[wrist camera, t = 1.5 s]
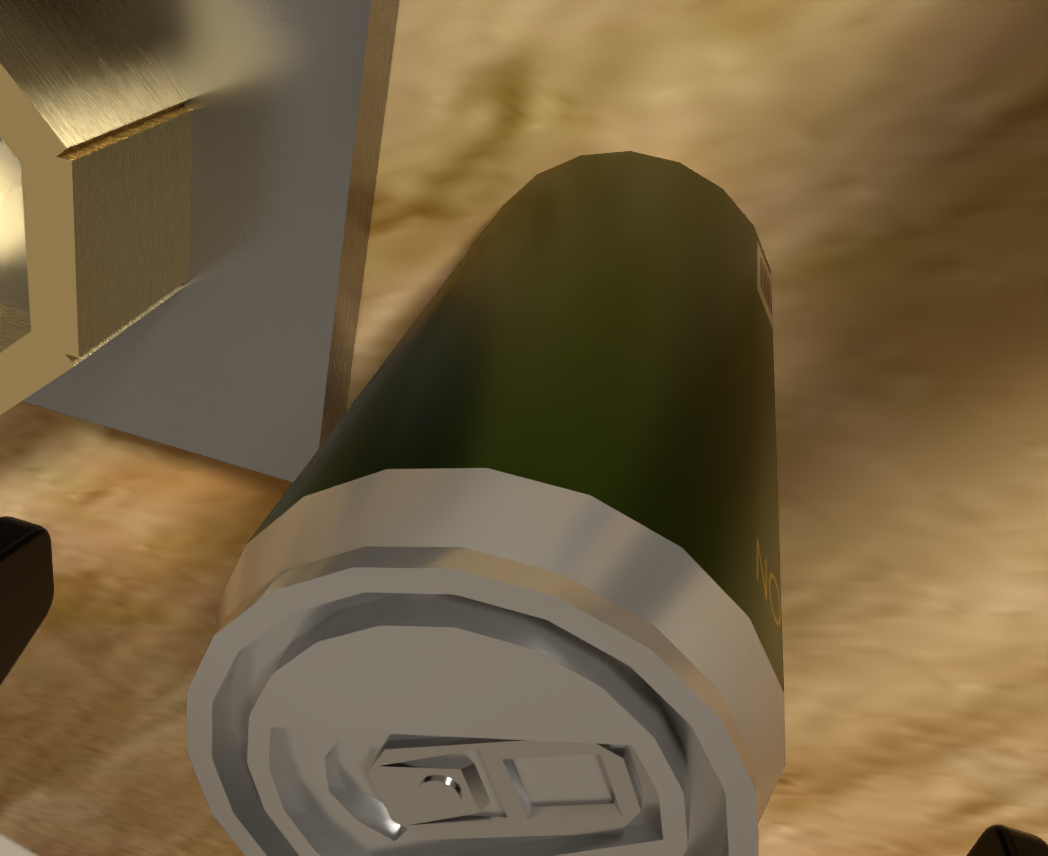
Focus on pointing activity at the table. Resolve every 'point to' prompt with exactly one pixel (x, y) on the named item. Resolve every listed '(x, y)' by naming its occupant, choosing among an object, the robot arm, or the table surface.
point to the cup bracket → (189, 215)
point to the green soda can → (527, 558)
